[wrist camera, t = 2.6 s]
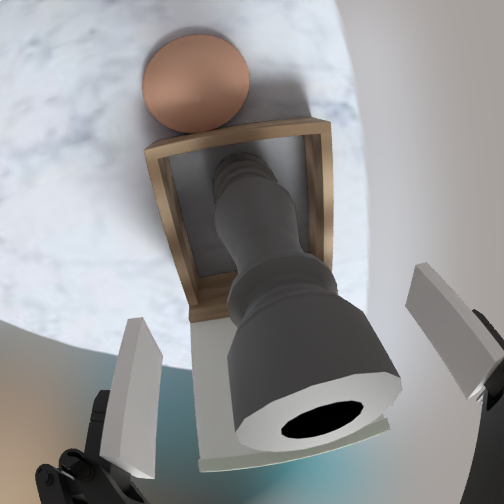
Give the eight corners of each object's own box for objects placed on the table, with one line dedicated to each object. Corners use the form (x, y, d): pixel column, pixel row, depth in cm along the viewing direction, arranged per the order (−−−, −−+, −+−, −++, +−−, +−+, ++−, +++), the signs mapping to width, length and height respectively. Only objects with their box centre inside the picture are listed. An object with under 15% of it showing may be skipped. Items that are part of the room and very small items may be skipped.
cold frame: (155, 141, 25) (118, 172, 15) (311, 117, 26) (370, 134, 16) (205, 322, 39) (207, 395, 28) (316, 301, 39) (346, 367, 29)
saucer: (138, 50, 20) (135, 48, 19) (241, 30, 21) (242, 27, 20) (155, 141, 25) (152, 143, 24) (254, 122, 26) (256, 123, 25)
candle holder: (224, 216, 31) (258, 462, 9) (204, 164, 27) (190, 410, 6) (278, 198, 30) (396, 416, 9) (262, 144, 27) (424, 332, 6)
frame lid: (188, 322, 29) (187, 462, 16) (338, 294, 30) (401, 415, 16) (198, 346, 31) (202, 474, 18) (336, 320, 32) (387, 433, 19)
